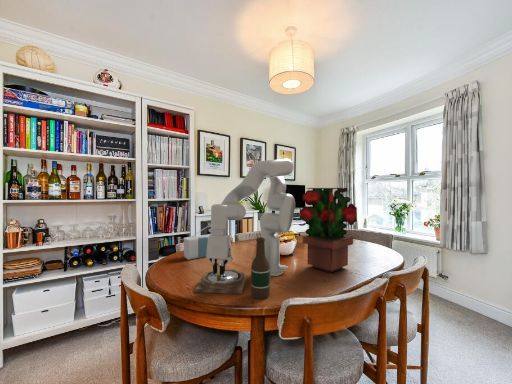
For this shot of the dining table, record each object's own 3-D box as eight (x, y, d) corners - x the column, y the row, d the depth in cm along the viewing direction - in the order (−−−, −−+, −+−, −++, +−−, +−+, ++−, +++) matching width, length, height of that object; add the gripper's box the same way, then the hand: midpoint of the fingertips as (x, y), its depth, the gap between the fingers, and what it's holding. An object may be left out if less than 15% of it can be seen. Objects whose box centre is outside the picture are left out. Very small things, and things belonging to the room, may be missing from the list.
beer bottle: (269, 291, 105) (269, 236, 105) (270, 299, 97) (270, 239, 97) (251, 291, 105) (251, 236, 104) (251, 299, 97) (251, 240, 97)
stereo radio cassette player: (187, 261, 149) (187, 228, 148) (182, 258, 155) (182, 226, 155) (217, 255, 162) (217, 225, 162) (211, 252, 168) (211, 223, 168)
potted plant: (333, 278, 121) (334, 187, 120) (299, 266, 138) (299, 187, 137) (356, 268, 135) (356, 188, 134) (322, 259, 152) (323, 188, 152)
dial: (213, 274, 121) (213, 256, 121) (241, 275, 119) (241, 257, 119) (203, 285, 107) (203, 264, 107) (233, 287, 105) (233, 266, 105)
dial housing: (246, 276, 122) (246, 268, 122) (241, 293, 103) (241, 284, 102) (207, 275, 124) (207, 267, 124) (195, 292, 104) (195, 283, 104)
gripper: (199, 232, 106) (198, 274, 106) (232, 234, 101) (231, 279, 101) (208, 229, 113) (207, 268, 114) (239, 232, 108) (239, 273, 108)
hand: (218, 273), depth 107 cm, fingers closed on dial, 2 cm apart
